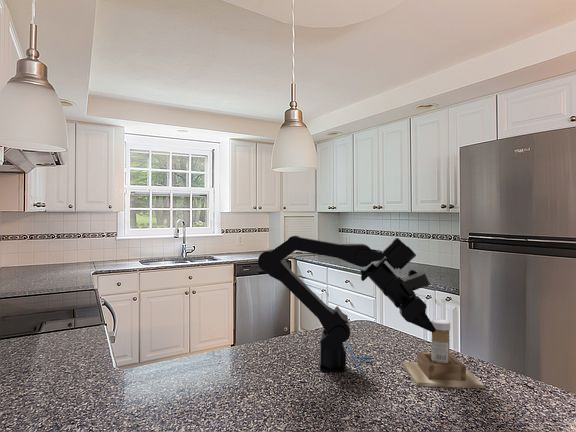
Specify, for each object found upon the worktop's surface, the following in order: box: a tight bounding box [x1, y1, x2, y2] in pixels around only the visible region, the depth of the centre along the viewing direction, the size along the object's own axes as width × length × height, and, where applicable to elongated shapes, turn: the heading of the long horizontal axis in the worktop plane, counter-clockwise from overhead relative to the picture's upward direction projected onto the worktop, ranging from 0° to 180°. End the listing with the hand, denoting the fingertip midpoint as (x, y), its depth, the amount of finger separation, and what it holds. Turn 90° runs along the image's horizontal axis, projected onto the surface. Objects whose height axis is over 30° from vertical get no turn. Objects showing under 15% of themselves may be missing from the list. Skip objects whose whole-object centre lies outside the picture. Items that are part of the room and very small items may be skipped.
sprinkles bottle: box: [430, 318, 451, 364], centre depth 94 cm, size 5×5×14 cm
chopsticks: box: [344, 341, 373, 374], centre depth 107 cm, size 2×25×5 cm
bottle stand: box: [402, 351, 485, 389], centre depth 94 cm, size 16×13×4 cm
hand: (430, 325), depth 95 cm, fingers open, 9 cm apart
